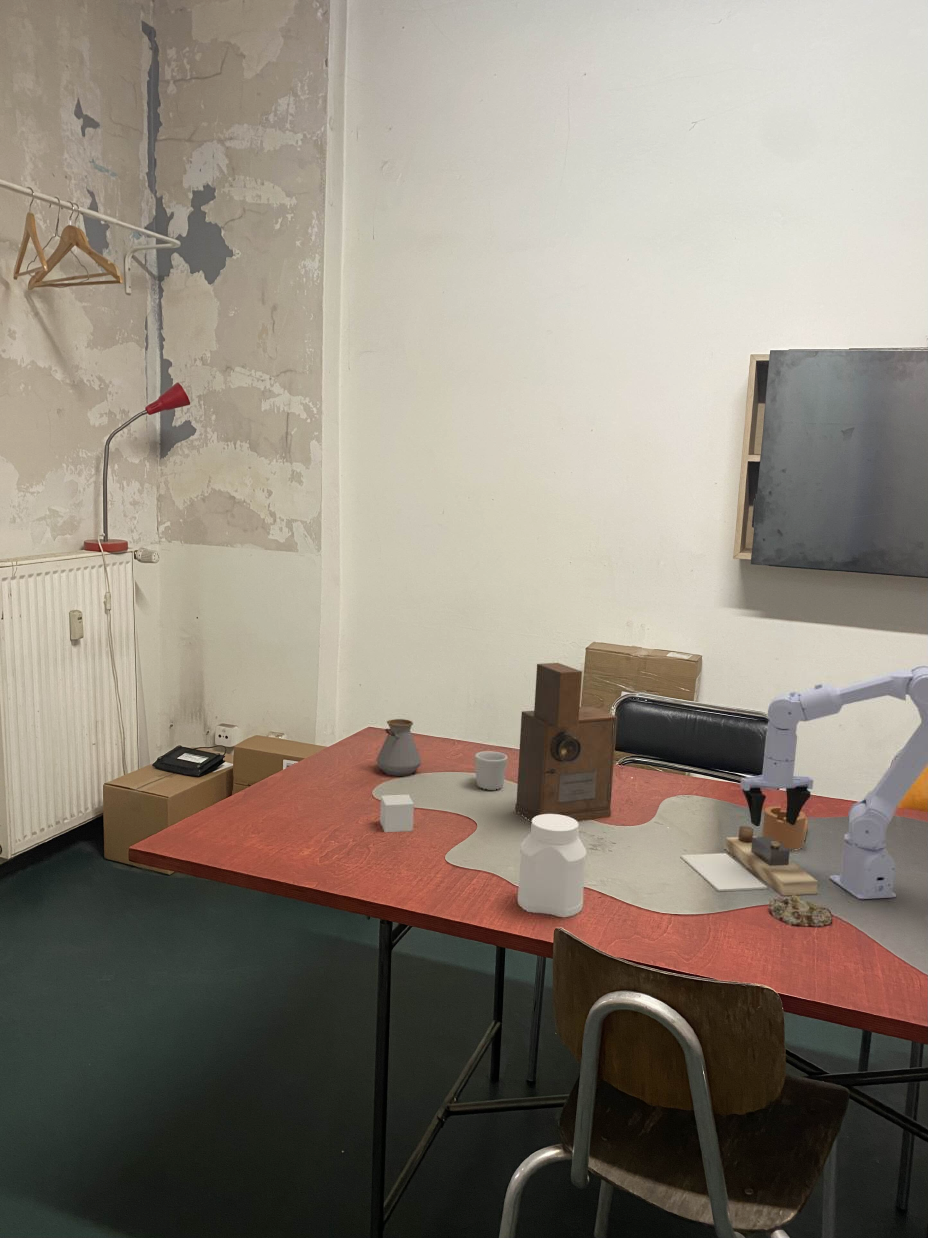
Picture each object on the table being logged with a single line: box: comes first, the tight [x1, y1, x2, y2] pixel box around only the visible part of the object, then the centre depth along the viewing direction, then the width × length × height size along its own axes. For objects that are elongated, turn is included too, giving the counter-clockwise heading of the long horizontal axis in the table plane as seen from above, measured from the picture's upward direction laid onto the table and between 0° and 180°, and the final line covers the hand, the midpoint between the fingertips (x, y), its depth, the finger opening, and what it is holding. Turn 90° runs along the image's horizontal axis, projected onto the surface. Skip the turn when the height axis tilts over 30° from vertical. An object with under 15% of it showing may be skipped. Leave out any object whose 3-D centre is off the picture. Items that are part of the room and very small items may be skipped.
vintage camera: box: [514, 662, 618, 822], centre depth 201 cm, size 19×14×35 cm
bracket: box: [761, 805, 809, 851], centre depth 198 cm, size 18×8×7 cm, turn 155°
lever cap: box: [751, 836, 791, 866], centre depth 179 cm, size 7×4×4 cm, turn 12°
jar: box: [517, 814, 587, 918], centre depth 159 cm, size 12×10×15 cm
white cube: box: [379, 794, 415, 833], centre depth 193 cm, size 6×6×6 cm
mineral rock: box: [768, 895, 834, 928], centre depth 159 cm, size 11×4×8 cm
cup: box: [474, 750, 509, 791], centre depth 223 cm, size 11×8×8 cm
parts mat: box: [679, 852, 768, 892], centre depth 177 cm, size 16×10×1 cm, turn 12°
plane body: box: [724, 825, 819, 897], centre depth 179 cm, size 22×7×5 cm, turn 12°
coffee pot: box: [375, 718, 422, 777], centre depth 225 cm, size 21×12×15 cm, turn 171°
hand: (772, 823), depth 178 cm, fingers open, 7 cm apart
